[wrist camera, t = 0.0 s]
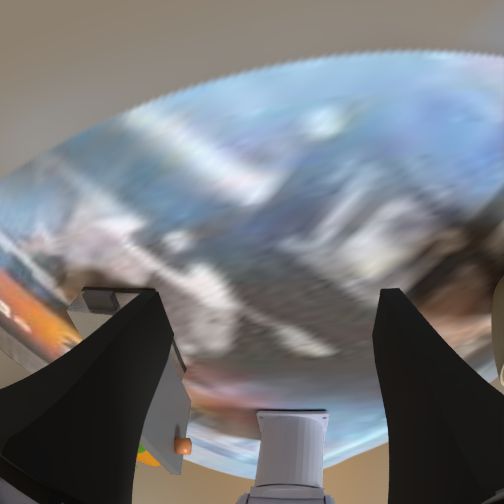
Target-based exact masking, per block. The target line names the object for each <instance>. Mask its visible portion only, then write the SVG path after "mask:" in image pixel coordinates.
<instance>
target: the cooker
mask: <svg viewBox="0 0 504 504" xmlns="http://www.w3.org/2000/svg"><path fill="white" fill-rule="evenodd" d="M142 292H156V290H155V289H124V288H94V287H84V288H83V289H82V290H81V293H80V294H79V295H78V296H77V298H76V299H75V300H74V302H73V303H72V304H71V306H70V307H69V308H68V310H67V312H68V314H69V316H70V318H71V320H72V321H73V323H74V325H75V327H76V328H77V330H78V332H79V333H80V335H81V337H82V339H83V340H84V339H85V338H87V337H88V336H89V335H90V334H92V333H93V332H94V331H95V330H97V329H98V328H99V327H100V326H101V325H103V324H104V323H105V322H106V321H107V320H109V319H110V318H111V317H112V316H113V315H114V314H116V313H117V312H118V311H119V310H120V309H121V308H123V307H124V306H125V305H126V304H127V303H129V302H130V301H131V300H132V299H134V298H135V297H136V296H137V295H139V294H140V293H142ZM169 356H170V358H171V360H172V363H173V365H174V367H175V369H176V371H177V373H178V376H179V378H180V380H181V381H182V379H183V376H184V373H185V372H186V367H185V365H184V362H183V360H182V358H181V355H180V353H179V350H178V348H177V346H176V343H175V341H174V338H173V341H172V345H171V350H170V353H169Z"/></svg>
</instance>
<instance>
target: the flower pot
mask: <svg viewBox="0 0 504 504" xmlns="http://www.w3.org/2000/svg"><path fill="white" fill-rule="evenodd" d="M491 323H492V342H493V350H494V357H495V362H496V367H497V372H498V376H499V379H500V382H501V384H502V385H503V386H504V275H503V276H502V278H501V279H500V280H499V282H498V284H497V286H496V288H495V290H494V294H493V300H492V321H491Z"/></svg>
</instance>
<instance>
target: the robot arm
mask: <svg viewBox="0 0 504 504" xmlns="http://www.w3.org/2000/svg"><path fill="white" fill-rule="evenodd" d="M173 337H174V333H173V331H172V328H171V325H170V323H169V320H168V317H167V315H166V312H165V309H164V307H163V304H162V301H161V298H160V296H159V293H158V292H142V293H140V294H139V295H137V296H136V297H135V298H134V299H132V300H131V301H130V302H129V303H127V304H126V305H125V306H124V307H123V308H121V309H120V310H119V311H118V312H117V313H116V314H114V315H113V316H112V317H111V318H110V319H109V320H107V321H106V322H105V323H104V324H103V325H101V326H100V327H99V328H98V329H97V330H95V331H94V332H93V333H92V334H90V335H89V336H88V337H87V338H85V339H84V340H83V341H82V342H80V343H79V344H78V345H77V346H75V347H74V348H73V349H71V350H70V351H68V352H67V353H66V354H64V355H63V356H61V357H60V358H58V359H57V360H55V361H54V362H52V363H51V364H49V365H47V366H46V367H44V368H42V369H40V370H39V371H37V372H35V373H33V374H32V375H30V376H28V377H26V378H24V379H23V380H20V381H18V382H16V383H14V384H12V385H9V386H7V387H5V388H2V389H0V504H132V489H133V479H134V472H135V463H136V459H137V453H138V448H139V443H140V439H141V434H142V430H143V426H144V422H145V419H146V416H147V413H148V410H149V407H150V404H151V402H152V399H153V397H154V394H155V392H156V389H157V387H158V384H159V381H160V379H161V376H162V374H163V371H164V369H165V366H166V363H167V361H168V357H169V353H170V350H171V345H172V341H173ZM372 337H373V347H374V356H375V364H376V369H377V374H378V378H379V383H380V388H381V393H382V398H383V403H384V408H385V413H386V419H387V426H388V437H389V493H388V504H504V395H503V394H502V393H501V392H499V391H498V390H497V389H495V388H494V387H493V386H491V385H490V384H489V383H488V382H487V381H486V380H484V379H483V378H482V377H481V376H480V375H479V374H478V373H477V372H476V371H474V370H473V369H472V368H471V367H470V366H469V365H468V364H467V363H466V362H465V361H464V360H463V359H462V358H461V357H460V356H459V355H458V354H457V353H456V352H455V351H454V350H453V349H452V348H451V347H450V346H449V345H448V344H447V343H446V342H445V341H444V340H443V338H442V337H441V336H440V335H439V334H438V333H437V332H436V330H435V329H434V328H433V327H432V326H431V325H430V324H429V322H428V321H427V320H426V319H425V318H424V317H423V315H422V314H421V313H420V312H419V311H418V310H417V308H416V307H415V306H414V305H413V304H412V302H411V301H410V300H409V299H408V298H407V297H406V295H405V294H404V293H403V292H402V291H401V290H400V289H399V288H391V289H381V291H380V297H379V303H378V308H377V314H376V319H375V324H374V329H373V334H372ZM256 415H257V420H258V424H259V429H260V433H261V443H260V451H259V458H258V465H257V472H256V479H255V486H254V487H251V490H250V493H244V494H243V495H242V496H240V497H239V499H238V500H237V503H236V504H335V500H334V499H333V498H332V497H331V496H330V495H324V488H322V479H323V444H324V440H325V435H326V430H327V425H328V420H329V412H328V411H306V412H290V411H258V412H257V414H256Z"/></svg>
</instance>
